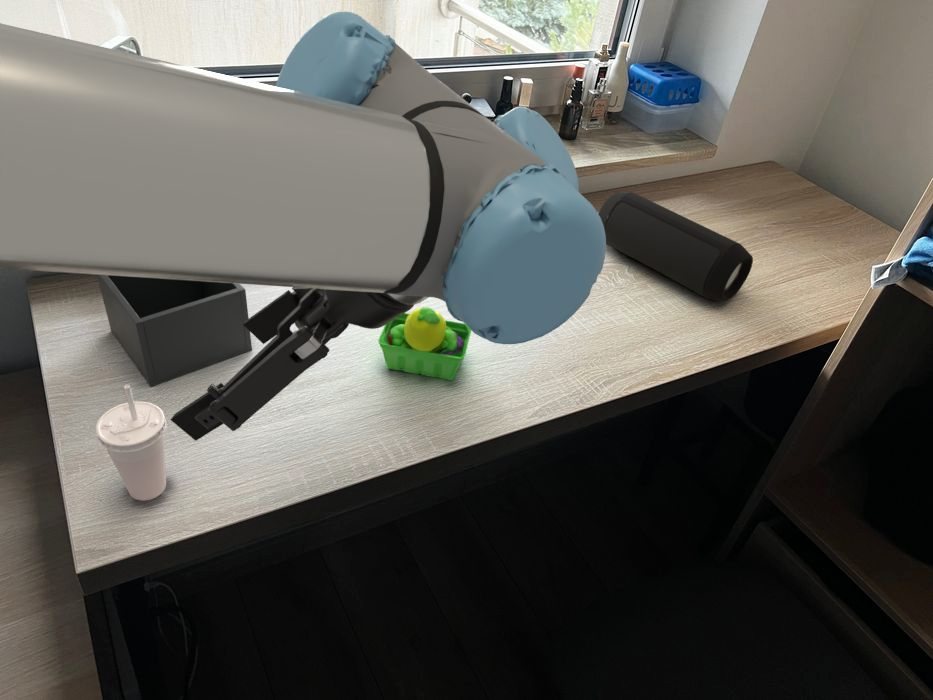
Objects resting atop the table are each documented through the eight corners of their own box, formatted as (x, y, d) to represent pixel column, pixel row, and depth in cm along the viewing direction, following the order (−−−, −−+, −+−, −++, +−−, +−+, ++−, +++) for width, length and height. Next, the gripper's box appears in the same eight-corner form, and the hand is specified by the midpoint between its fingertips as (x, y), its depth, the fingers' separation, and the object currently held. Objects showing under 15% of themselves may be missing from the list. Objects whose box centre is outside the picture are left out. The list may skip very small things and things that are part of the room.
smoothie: (192, 482, 78) (172, 386, 70) (142, 520, 74) (114, 423, 65) (152, 456, 81) (128, 359, 72) (101, 491, 76) (69, 393, 68)
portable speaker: (742, 294, 120) (763, 242, 114) (711, 315, 114) (732, 261, 108) (620, 231, 133) (633, 181, 127) (586, 246, 128) (598, 195, 122)
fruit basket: (469, 353, 101) (477, 285, 94) (459, 394, 94) (467, 325, 87) (389, 339, 101) (392, 271, 94) (373, 379, 95) (375, 309, 88)
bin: (150, 387, 89) (135, 323, 83) (111, 331, 97) (94, 269, 91) (252, 350, 97) (245, 289, 91) (208, 300, 104) (199, 241, 98)
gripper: (372, 406, 46) (186, 507, 57) (454, 225, 65) (303, 326, 76) (288, 323, 43) (108, 446, 54) (399, 160, 63) (251, 274, 73)
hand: (222, 376), depth 65 cm, fingers open, 13 cm apart
